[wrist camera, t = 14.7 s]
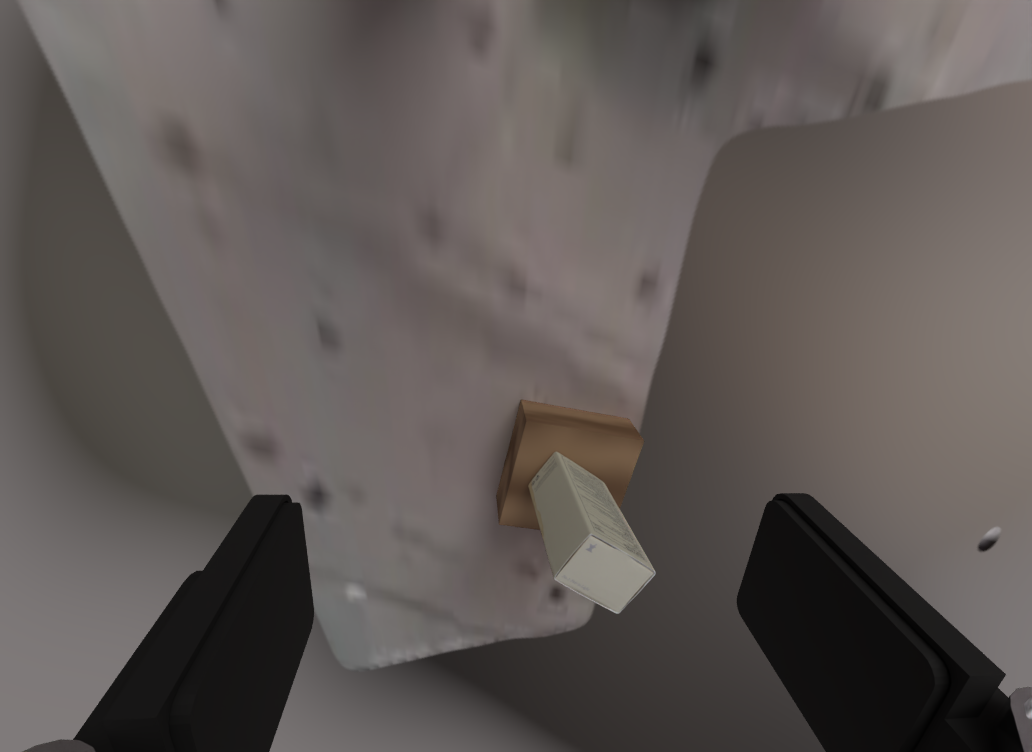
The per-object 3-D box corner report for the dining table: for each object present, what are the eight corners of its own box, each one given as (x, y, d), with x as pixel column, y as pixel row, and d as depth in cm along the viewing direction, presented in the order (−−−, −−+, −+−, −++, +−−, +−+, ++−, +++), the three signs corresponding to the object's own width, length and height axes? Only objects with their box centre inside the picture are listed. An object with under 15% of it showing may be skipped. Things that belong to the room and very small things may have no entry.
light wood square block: (520, 397, 46) (526, 420, 41) (627, 416, 48) (644, 440, 43) (496, 493, 50) (499, 524, 45) (596, 507, 52) (608, 538, 47)
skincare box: (526, 484, 44) (547, 578, 32) (556, 447, 43) (589, 531, 31) (579, 517, 45) (617, 618, 34) (609, 482, 44) (658, 574, 33)
